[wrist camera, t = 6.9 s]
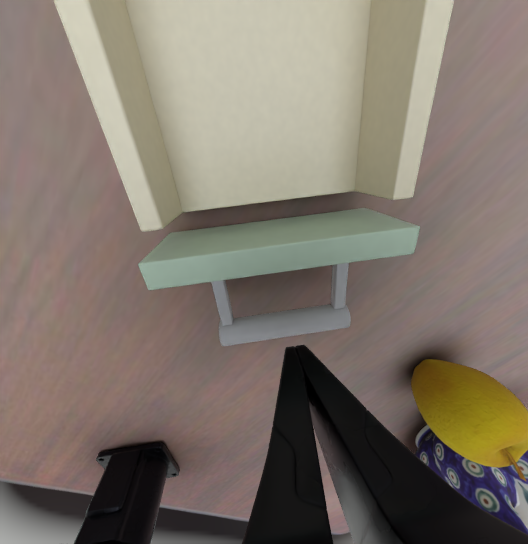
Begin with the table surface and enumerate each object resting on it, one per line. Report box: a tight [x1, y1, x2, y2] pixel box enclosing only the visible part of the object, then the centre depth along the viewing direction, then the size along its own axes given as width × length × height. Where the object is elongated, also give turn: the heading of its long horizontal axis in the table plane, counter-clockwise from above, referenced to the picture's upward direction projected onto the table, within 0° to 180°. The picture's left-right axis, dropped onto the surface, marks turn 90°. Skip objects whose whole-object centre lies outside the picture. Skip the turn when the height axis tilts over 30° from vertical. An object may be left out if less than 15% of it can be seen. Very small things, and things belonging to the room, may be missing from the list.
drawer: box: [54, 0, 454, 346], centre depth 8 cm, size 18×11×4 cm, turn 6°
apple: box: [411, 359, 528, 481], centre depth 17 cm, size 6×6×8 cm
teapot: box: [415, 424, 528, 535], centre depth 20 cm, size 25×15×15 cm, turn 48°
